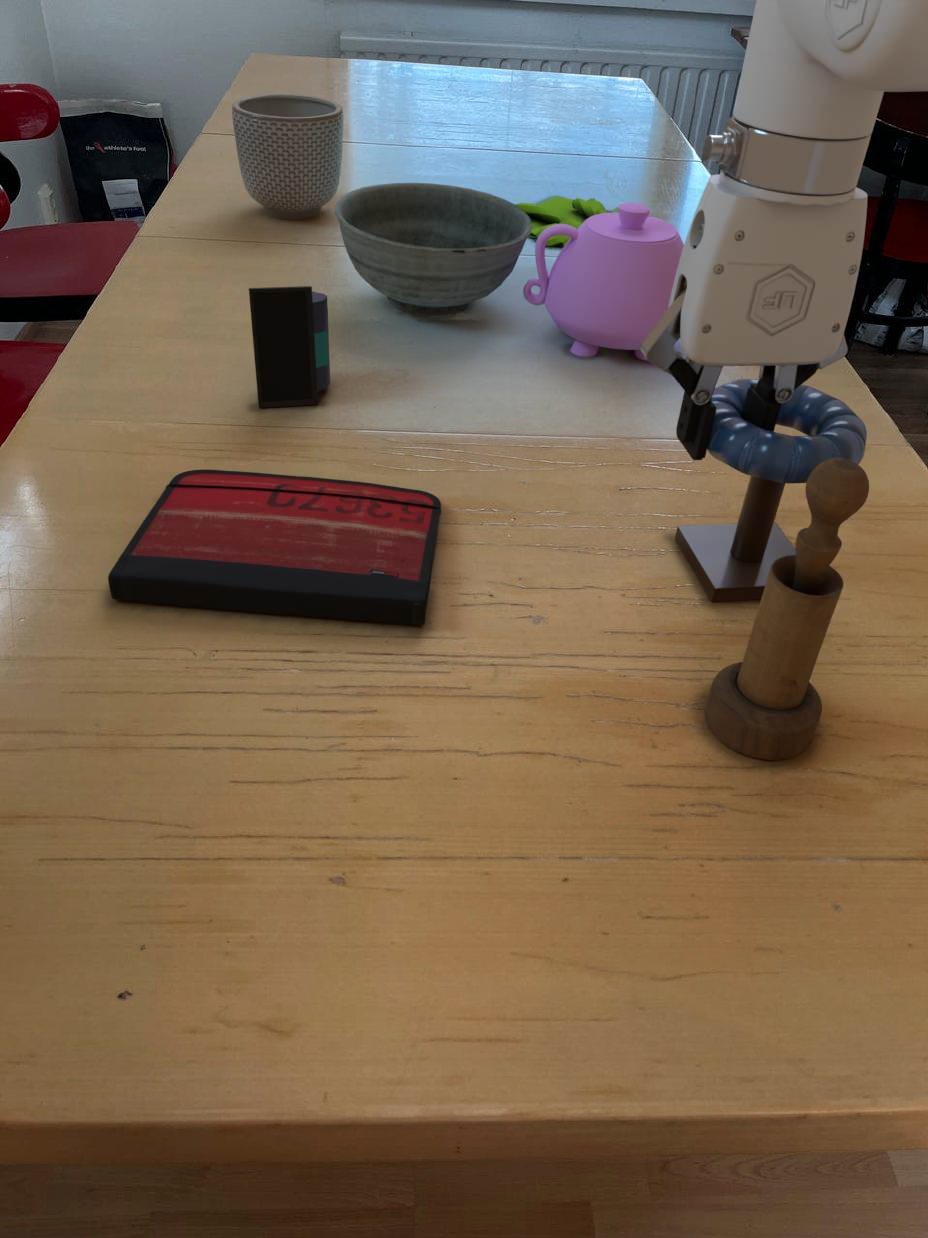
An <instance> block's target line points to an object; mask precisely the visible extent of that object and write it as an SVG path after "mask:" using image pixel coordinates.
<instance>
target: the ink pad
mask: <svg viewBox="0 0 928 1238" xmlns="http://www.w3.org/2000/svg"><path fill="white" fill-rule="evenodd" d="M441 515H442V502H441V500H440V498H439V497H438V496H436V495H434V494H433V493H431V492H427V491H424V490H421V489H413V488H406V487H400V486H393V485H386V484H378V483H373V482H364V481H355V480H347V479H346V480H345V479H334V478H325V477H314V476H301V475H299V476H298V475H291V474H290V475H288V474H278V473H277V474H276V473H268V472H267V473H266V472H265V473H264V472H253V471H242V470H241V471H239V470H237V471H236V470H221V469H192V470H187V471H183V472H180V473H178V474H176V475H175V476H173V477H172V479H171V480H169V483H168V484H167V485H166V486H165V489H164V490H163V491H162V493H161V495H160V496H159V497H158V499H157V501H156V502H155V504H154V505H153V506H152V508H151V509H150V511H149V513H148V514H147V515H146V516H145V518H144V519H143V521H142V522H141V524H140V525H139V527H138V528H137V530H136V531H135V533H134V535H133V536H132V537H131V539H130V541H129V542H128V544H127V545H126V547H125V548H124V550H123V551H122V553H121V554H120V556H119V557H118V559H117V561H116V562H115V564H114V565H113V567H112V568H111V570H110V572H109V574H108V576H107V581H108V582H107V583H108V587H109V592H110V596H111V599H113V600H115V601H127V602H128V601H129V602H136V603H149V604H158V605H169V606H177V607H178V606H179V607H190V608H191V607H193V608H200V609H201V608H202V609H216V610H227V611H240V612H251V613H252V612H253V613H265V614H277V615H287V616H288V615H290V616H299V617H300V616H301V617H314V618H325V619H337V620H338V619H339V620H351V621H361V622H362V621H363V622H376V623H387V624H388V623H389V624H400V625H401V624H402V625H412V626H413V625H414V626H419V627H420V626H424V625H425V624H426V612H427V607H428V602H429V601H428V600H429V593H430V589H431V588H430V586H431V580H432V574H433V567H434V560H435V552H436V545H437V539H438V531H439V522H440V516H441Z"/></svg>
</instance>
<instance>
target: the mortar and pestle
mask: <svg viewBox="0 0 928 1238" xmlns="http://www.w3.org/2000/svg"><path fill="white" fill-rule="evenodd" d="M804 489H805V490H804V491H805V497H806V501H807V505H808V508H809V511H810V516H811V518H810V519H811V520H810V525H809V526H807V527H803V528H801V529H800V530H799V531H798V532H797V534H796V540H795V549H796V555H788V556H783V557H780V558H778V559H776V560H775V561H774V562H773V563H772V565H771V568H770V571H769V575H768V578H767V581H766V585H765V588H764V592H763V595H762V598H761V599H760V602H759V606H758V609H757V612H756V616H755V619H754V621H753V622H754V623H753V625H752V628H751V632H750V635H749V639H748V642H747V646H746V647H745V648H746V649H745V652H744V655H743V659H742V661H737V662H735V663H732V664H729V665H727V666H725V667H723V668H722V669H721V670H720V671H718V673H716V675H715V676H714V678H713V679H712V682H711V686H710V689H709V692H708V696H707V699H706V702H705V703H706V704H705V706H704V719H705V722H706V725H707V727H708V729H709V731H710V732H711V733H712V734H713V736H714V737H715V738H716V739H717V740H718V741H720V742H721V743H722V744H723V745H724V746H726V747H727V748H729V749H731V750H733V751H735V752H737V753H739V754H742V755H745V756H748V757H751V758H754V759H759V760H765V761H780V760H787V759H790V758H793V757H796V756H798V755H799V754H801V753H802V752H804V751H805V750H807V748H808V747H809V746H810V745H811V743H812V741H813V739H814V737H815V734H816V731H817V727H818V725H819V722H820V721H821V720H820V719H821V716H822V712H823V703H822V698H821V696H820V694H819V692H818V690H817V689H816V688H815V686H814V685H813V684H812V683H811V682H810V681H811V678H812V674H813V673H814V669H815V667H816V663H817V660H818V657H819V654H820V651H821V649H822V646H823V643H824V640H825V637H826V635H827V632H828V629H829V627H830V623H831V620H832V618H833V615H834V612H835V610H836V607H837V604H838V602H839V599H840V598H841V595H842V591H843V588H844V580H843V577H842V575H841V574H840V573H839V572H838V571H837V570H836V569H835V568H833V567H832V566H830V565H831V564H832V563H833V562H834V560H835V559H836V557H837V555H838V554H839V552H840V550H841V548H842V545H843V543H842V540H841V538H840V536H839V530H840V529H839V528H840V527H841V525H842V524H843V523H845V522H846V521H847V520H848V519H849V518H851V517H852V516H853V515H855V514H856V513H857V512H858V511H859V510H860V509H861V508H863V506H864V505H865V503H866V502H867V500H868V496H869V492H870V481H869V477H868V475H867V473H866V470H865V469H864V468H863V467H861V465H859V464H856V463H854V462H853V461H850V460H848V459H843V458H833V459H829V460H826V461H824V462H822V463H821V464H819V465H818V466H817V467H816V468H815V469H814V470H813V471H812V472H811V474H810V476H809V477H808V480H807V483H805V488H804Z"/></svg>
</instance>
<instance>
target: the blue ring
mask: <svg viewBox="0 0 928 1238" xmlns="http://www.w3.org/2000/svg"><path fill="white" fill-rule="evenodd" d="M758 381H759V378H745V379H743V378H742V379H735V380H733V381H730V382H727V383H724V384H722V385H718V386H715V389H714V392H713V394H712V398H711V401H712V402H713V403H714V405H715V406H716V414H715V418H714V422H713V427H712V431H711V435H710V439H709V443H708V447H707V451H706V452H707V453H708V454H709V455H710V456H711V457H713V458H714V459H715V460H718V461H720V462H721V463H723V464H725V465H727V466H729V467H730V468H732V469H734V470H736V471H737V472H740V473H742V474H745V475H747V476H749V477H751V476H754V477H759V478H763V479H767V480H771V481H776V482H780V483H785V484H787V485H788V484H806V483H807V480H808V477H809V476H810V474H811V472H812V471H813V470H814V469H815V468H816V467H817V466H818V465H819V464H821V463H822V462H824V461H826V460H829V459H833V458H843V459H848V460H850V461H853V462H854V463H856V464H858V465H859V464H860V463H861V462H862V460H863V459H864V457H865V453H866V445H867V438H868V437H867V436H868V434H867V433H868V432H867V427H866V424H865V422H863V420H862V419H861V418H860V416H858V414H857V413H855V412H854V411H853V410H852V409H851V408H850V407H849V406H848V404H846V403H845V402H844V401H843V400H842V399H839V398H837V397H835V396H833V395H831V394H828V393H827V392H823V391H822V390H820V389H817V388H815V387H813V386H810V385H806V384H801V385H800V386H799V387H797V388H796V389H795V390H794V392H793V396H792V398H791V399H790V400H789V401H788V402H786V403H783V404H781V408H780V411H779V415H778V418H777V422H776V425H777V426H781V427H786V428H791V429H794V430H796V431H798V432H799V433H802V434H804V435H790V434H785V433H781V432H776V431H774V432H772V431H767V430H763V429H761V428H759V427H757V426H755V425H753V424H751V423H749V422H747V421H745V420H744V419H743V418H742V417H741V414H742V410H743V406H744V402H745V398H746V394H747V391H748V388H750V386H751V384H757V383H758ZM776 425H775V426H776Z"/></svg>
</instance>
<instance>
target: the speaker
mask: <svg viewBox="0 0 928 1238" xmlns="http://www.w3.org/2000/svg"><path fill="white" fill-rule="evenodd" d="M248 295H249V298H248V299H249V307H250V308H249V310H250V321H251V329H252V330H251V332H252V345H253V355H254V358H253V359H254V368H255V382H256V393H257V406H258V409H263V408H278V407H296V406H311V405H313V406H314V405H319V398H318V397H319V395H318V393H319V392H321V391H324V390H327V389H328V388H329V386H330V385H331V364H330V363H331V361H330V359H331V358H330V336H329V335H330V333H329V308H328V295H326V294H325V293H322V292H317V291H313V287H312V285H303V286H302V285H297V286H270V287H267V286H266V287H265V286H264V287H248Z"/></svg>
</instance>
